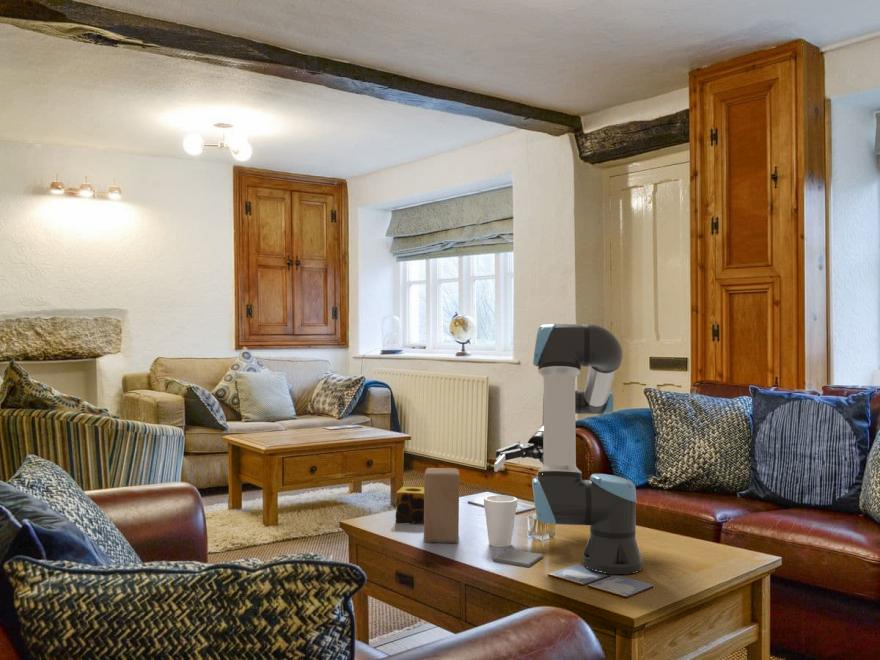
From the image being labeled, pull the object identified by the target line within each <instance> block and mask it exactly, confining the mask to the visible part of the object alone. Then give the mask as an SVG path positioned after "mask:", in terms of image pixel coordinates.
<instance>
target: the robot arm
mask: <svg viewBox="0 0 880 660" xmlns="http://www.w3.org/2000/svg"><path fill="white" fill-rule="evenodd" d="M535 338H536V339H535V345H534V352H533V361H532V365H533V366H535V367H538V368H537V371H538V374H539V375H540V376H541V377H542V378H543V396H542V424H541V426H540V427H539V428H538V429H537V430H536V431H535V432H534V434H533V435H532V436H531V437H530V438H529V439H528V441H527V443H525V444H522V443H521V441H519V440H517V441H515V442H514V443H511V444H509V445H507V446H504V447H501V448H498V449H496V450H495V462H494V463H493V465H494V467H493V468H494V469H493V471H494V473H497V472H499V470H500V469H501V468H502V467H503V466H504V465H505V463H506V461H509V460H513V459H517V458H522V459H525V458H530V459H535V460H539V461H540V463H542V466H541V467H540V469H538V470H537V474H536V477H534V478H532V480H531V481H532V482H531V483H532V492H533V502H534V510H535V515H536V518H537V520H538V522H540V523H542V524H548V525H554V526H556V525H565V526H566V525H569V526H570V525H571V526H574V525H575V526H589V538H588V540H587V543H586V545H585V549H584V551H583V553H582V554H583V555H582V565H583V567H584V568H586V567H588V568H590V569H593V570H597V571H602V572H606V573H609V574H608V575H615V574H624V575H628V574H627V573H633V572H636V571H639V570H640V569H641V568H642V569H643V558H642V554H641V552H640V547H639V546H638V542H637V537H636V527H637V525H636V524H637V523H636V519H637V515H636V514H637V512H636V511H637V510H636V509H637V504H636V503H637V501H638V499H637V491H636V490H637V489H636V485H635V484H634V483H633V482H632V481H631V480H629V479H627V478H626V477H625V478H624V477H621V476H616V475H612V474H606V473H592V474H591V475H590V477H589V479H583V474H582V471H581V470H580V469H579V468H578V467H577V461H576V460H577V453H576V452H577V451H576V450H577V449H576V447H577V446H576V445H577V443H576V442H577V441H576V438H577V437H576V434H577V433H576V414H577V415H599V416H603V415H611V414H612V413H613V411H614V404H615V403H614V393H613V392H612V391H611V389H612V385H613V381H614V377H615V373H616V371H617V370H618V369H619V368H620V366H621V364H622V360H623V355H624V354H623V349H622V345H621V343H620V341H619V340H618V338H617V336H615V335H614V334H613V333H612V332H611V331H610V330H608V329H606V328H605V327H603V326H600V325H596V324H592V323H590V324H579V323H578V324H575V323H574V324H572V323H571V324H570V323H551V324H542V325H540V326H538V329H537V334H536V337H535ZM581 367H588V372H587V376H586V377H587V378H586V383H585V387H584V388H585V389H584V390H577V389H576V378H577V377H578V376H579V375H580V374H581V372H582V370H581V369H582V368H581ZM542 473H543V475H542ZM588 568H587V569H588ZM590 569H589V570H590ZM639 572H640V571H639ZM633 574H634V573H633Z"/></svg>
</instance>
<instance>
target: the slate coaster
mask: <svg viewBox="0 0 880 660" xmlns="http://www.w3.org/2000/svg"><path fill="white" fill-rule="evenodd" d="M543 555H544V554H542V553H538V552H530V551H525V550H518V549H511V548H508V549H506V550H504V551H502V552H500V553H499V554H497V555H496V556H494V557H493V562H497V563H503V564H509V565H514V566H521V567H526V568H529V567H531V566H532V565H533V564H535V563H536V562H539V560H541V559H542V558H543Z"/></svg>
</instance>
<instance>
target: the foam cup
mask: <svg viewBox="0 0 880 660" xmlns="http://www.w3.org/2000/svg"><path fill="white" fill-rule="evenodd" d="M483 508H484V512H485V520H486V521H485V522H486V528H487V529H486V531H487V538H488V544H489V546H491V547H496V548H506V547H510V546H511V545H512V541H513V537H514V535H513V534H514V527H515V520H516V519H515V518H516V513H517V508H518V498H517V497H516V496H512V495H505V494H504V495H503V494H495V495H494V494H493V495H487V496H484V498H483Z"/></svg>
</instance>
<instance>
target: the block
mask: <svg viewBox="0 0 880 660" xmlns="http://www.w3.org/2000/svg"><path fill="white" fill-rule="evenodd" d="M423 483H424V484H423V485H424V486H423V487H424V525H423V540H424V542H425V543H428V542H441V544H446V543H447V544H456V543H458V542H459V531H460V529H459V527H460V526H459V523H460V521H459V520H460V512H459V511H460V470H459V469H458V468H456V467H454V468H453V467H451V468H450V467H447V468H446V467H427V468H426V469H425V473H424V482H423Z"/></svg>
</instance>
